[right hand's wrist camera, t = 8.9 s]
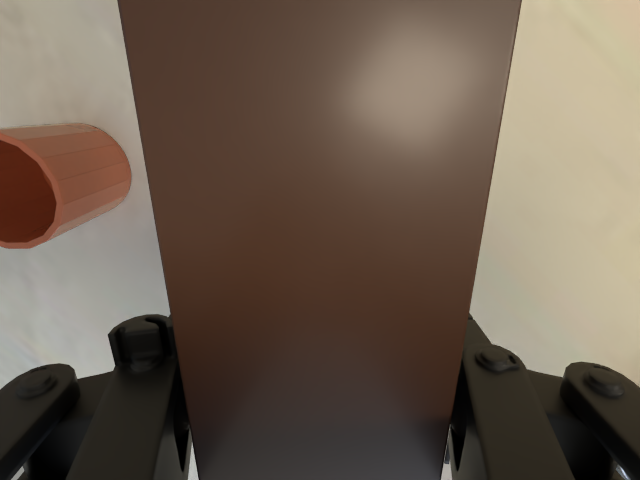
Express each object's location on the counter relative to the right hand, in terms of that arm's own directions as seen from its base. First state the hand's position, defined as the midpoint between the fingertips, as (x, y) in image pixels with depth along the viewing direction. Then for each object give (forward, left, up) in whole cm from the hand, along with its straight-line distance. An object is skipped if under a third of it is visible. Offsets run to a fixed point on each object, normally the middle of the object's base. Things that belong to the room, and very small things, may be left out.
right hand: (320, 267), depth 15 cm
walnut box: (0, -10, -1) cm, 10 cm away
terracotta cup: (+18, -2, -15) cm, 23 cm away
